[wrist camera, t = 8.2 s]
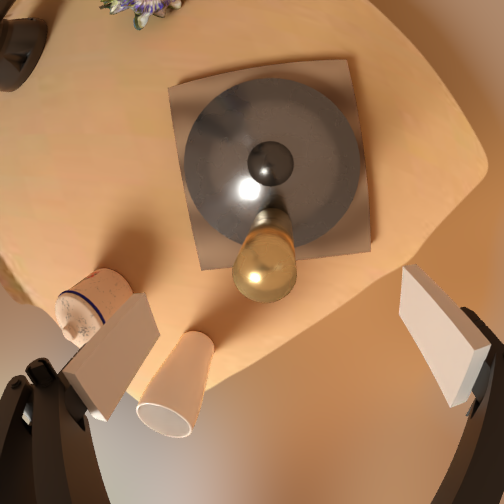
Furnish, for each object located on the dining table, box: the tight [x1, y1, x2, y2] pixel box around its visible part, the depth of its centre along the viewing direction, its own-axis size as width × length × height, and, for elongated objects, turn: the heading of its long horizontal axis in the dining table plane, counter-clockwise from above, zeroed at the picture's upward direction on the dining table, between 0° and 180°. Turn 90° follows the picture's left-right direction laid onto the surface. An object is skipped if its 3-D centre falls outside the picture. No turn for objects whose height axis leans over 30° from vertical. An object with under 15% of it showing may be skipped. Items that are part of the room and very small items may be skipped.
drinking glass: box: [136, 331, 214, 438], centre depth 32 cm, size 7×7×15 cm
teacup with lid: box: [55, 268, 133, 348], centre depth 33 cm, size 12×9×12 cm
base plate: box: [168, 60, 371, 270], centre depth 29 cm, size 22×20×2 cm
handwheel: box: [184, 78, 360, 303], centre depth 21 cm, size 18×18×13 cm
